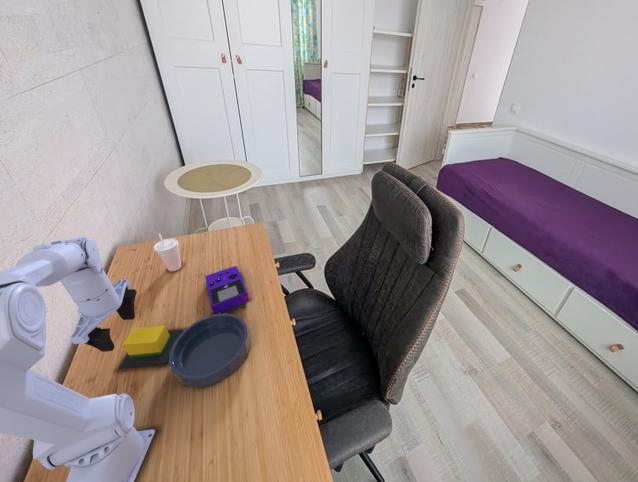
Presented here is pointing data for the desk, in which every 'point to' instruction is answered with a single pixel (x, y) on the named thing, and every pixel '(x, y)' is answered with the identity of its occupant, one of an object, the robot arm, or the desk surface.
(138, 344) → the sponge
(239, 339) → the bowl
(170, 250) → the smoothie
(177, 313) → the desk surface
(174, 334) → the mat
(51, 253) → the robot arm
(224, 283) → the handheld gaming console
